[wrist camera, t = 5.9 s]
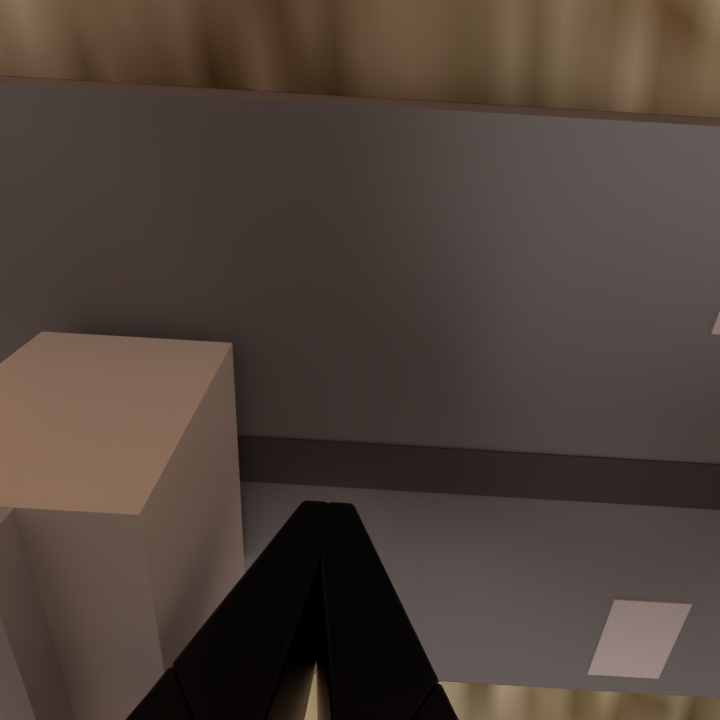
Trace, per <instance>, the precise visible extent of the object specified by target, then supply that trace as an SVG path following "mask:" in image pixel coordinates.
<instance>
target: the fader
mask: <svg viewBox="0 0 720 720" xmlns="http://www.w3.org/2000/svg"><path fill="white" fill-rule="evenodd" d="M244 573H245V568H244V550H243V531H242V513H241V495H240V476H239V458H238V440H237V421H236V403H235V384H234V366H233V348H232V343H227V342H210V341H194V340H177V339H160V338H143V337H126V336H110V335H93V334H76V333H59V332H41V333H39V334H38V335H37V336H35V337H34V338H33V339H32V340H30V341H29V342H28V343H26V344H25V345H24V346H22V347H21V348H20V349H19V350H17V351H16V352H15V353H13V354H12V355H11V356H9V357H8V358H7V359H5V360H4V361H3V362H2V363H0V720H125V719H126V718H127V717H128V716H129V715H130V713H131V712H132V711H133V710H134V709H135V708H136V706H137V705H138V704H139V703H140V702H141V701H142V699H143V698H144V697H145V696H146V695H147V693H148V692H149V691H150V690H151V689H152V687H153V686H154V685H155V684H156V682H157V681H158V680H159V679H160V677H161V676H162V675H163V674H164V672H165V671H166V670H167V669H168V668H169V667H172V663H173V662H174V660H175V659H176V658H177V657H178V655H179V654H180V653H181V652H182V650H183V649H184V648H185V647H186V645H187V644H188V643H189V642H190V640H191V639H192V638H193V637H194V635H195V634H196V633H197V632H198V631H199V629H200V628H201V627H202V626H203V624H204V623H205V622H206V621H207V619H208V618H209V617H210V616H211V614H212V613H213V612H214V611H215V609H216V608H217V607H218V606H219V604H220V603H221V602H222V601H223V599H224V598H225V597H226V596H227V594H228V593H229V592H230V591H231V590H232V588H233V587H234V586H235V585H236V583H237V582H238V581H239V580H240V578H241V577H242V576H243V575H244ZM172 668H173V667H172Z"/></svg>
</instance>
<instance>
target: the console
mask: <svg viewBox="0 0 720 720" xmlns="http://www.w3.org/2000/svg"><path fill="white" fill-rule="evenodd" d="M41 332H59V333H76V334H93V335H110V336H126V337H143V338H160V339H177V340H194V341H210V342H227V343H232V348H233V366H234V384H235V403H236V421H237V440H238V458H239V476H240V495H241V513H242V531H243V550H244V568H245V572H246V571H247V570H248V568H249V567H250V566H251V565H252V563H253V562H254V561H255V560H256V558H257V557H258V556H259V555H260V554H261V552H262V551H263V550H264V549H265V547H266V546H267V545H268V544H269V542H270V541H271V540H272V539H273V537H274V536H275V535H276V534H277V532H278V531H279V530H280V529H281V527H282V526H283V525H284V524H285V522H286V521H287V520H288V519H289V518H290V516H291V515H292V514H293V513H294V511H295V510H296V509H297V508H298V506H299V505H300V504H301V503H302V502H303V501H306V500H310V501H325V502H327V503H330V502H341V503H351V504H353V505H354V506H355V508H356V510H357V512H358V514H359V516H360V518H361V520H362V522H363V524H364V526H365V528H366V530H367V533H368V535H369V537H370V539H371V541H372V543H373V545H374V547H375V549H376V551H377V553H378V555H379V557H380V559H381V561H382V564H383V566H384V568H385V570H386V572H387V574H388V576H389V578H390V580H391V582H392V584H393V586H394V588H395V590H396V592H397V595H398V597H399V599H400V601H401V603H402V605H403V607H404V609H405V611H406V613H407V615H408V617H409V619H410V621H411V623H412V626H413V628H414V630H415V632H416V634H417V636H418V638H419V640H420V642H421V644H422V646H423V648H424V650H425V652H426V654H427V657H428V659H429V661H430V663H431V665H432V667H433V669H434V671H435V673H436V675H437V677H438V680H439V681H447V682H463V683H480V684H496V685H513V686H530V687H546V688H563V689H580V690H596V691H613V692H630V693H646V694H663V695H679V696H696V697H713V698H720V118H709V117H692V116H676V115H659V114H642V113H625V112H608V111H591V110H574V109H557V108H540V107H523V106H506V105H489V104H472V103H455V102H438V101H421V100H404V99H387V98H370V97H353V96H337V95H320V94H303V93H286V92H269V91H252V90H235V89H218V88H201V87H184V86H167V85H150V84H133V83H116V82H99V81H82V80H65V79H48V78H31V77H14V76H0V363H2V362H3V361H4V360H5V359H7V358H8V357H9V356H11V355H12V354H13V353H15V352H16V351H17V350H19V349H20V348H21V347H22V346H24V345H25V344H26V343H28V342H29V341H30V340H32V339H33V338H34V337H35V336H37V335H38V334H39V333H41ZM314 674H317V670H316V666H315V671H314Z"/></svg>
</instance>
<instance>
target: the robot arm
mask: <svg viewBox="0 0 720 720" xmlns="http://www.w3.org/2000/svg"><path fill="white" fill-rule="evenodd" d="M315 666H316V670H317V707H318V720H459V719H458V717H457V716H456V714H455V712H454V710H453V708H452V706H451V703H450V701H449V699H448V697H447V695H446V693H445V691H444V689H443V687H442V685H440V684H438V683H439V680H438V677H437V675H436V673H435V671H434V669H433V667H432V665H431V663H430V661H429V659H428V657H427V654H426V652H425V650H424V648H423V646H422V644H421V642H420V640H419V638H418V636H417V634H416V632H415V630H414V628H413V626H412V623H411V621H410V619H409V617H408V615H407V613H406V611H405V609H404V607H403V605H402V603H401V601H400V599H399V597H398V595H397V592H396V590H395V588H394V586H393V584H392V582H391V580H390V578H389V576H388V574H387V572H386V570H385V568H384V566H383V564H382V561H381V559H380V557H379V555H378V553H377V551H376V549H375V547H374V545H373V543H372V541H371V539H370V537H369V535H368V533H367V530H366V528H365V526H364V524H363V522H362V520H361V518H360V516H359V514H358V512H357V510H356V508H355V506H354V505H353V504H351V503H341V502H330V503H327V502H325V501H310V500H306V501H303V502H302V503H301V504H300V505H299V506H298V508H297V509H296V510H295V511H294V513H293V514H292V515H291V516H290V518H289V519H288V520H287V521H286V522H285V524H284V525H283V526H282V527H281V529H280V530H279V531H278V532H277V534H276V535H275V536H274V537H273V539H272V540H271V541H270V542H269V544H268V545H267V546H266V547H265V549H264V550H263V551H262V552H261V554H260V555H259V556H258V557H257V558H256V560H255V561H254V562H253V563H252V565H251V566H250V567H249V568H248V570H247V571H246V572H245V573H244V575H243V576H242V577H241V578H240V580H239V581H238V582H237V583H236V585H235V586H234V587H233V588H232V590H231V591H230V592H229V593H228V594H227V596H226V597H225V598H224V599H223V601H222V602H221V603H220V604H219V606H218V607H217V608H216V609H215V611H214V612H213V613H212V614H211V616H210V617H209V618H208V619H207V621H206V622H205V623H204V624H203V626H202V627H201V628H200V629H199V631H198V632H197V633H196V634H195V635H194V637H193V638H192V639H191V640H190V642H189V643H188V644H187V645H186V647H185V648H184V649H183V650H182V652H181V653H180V654H179V655H178V657H177V658H176V659H175V660H174V662H173V663H172V667H173V668H172V667H169V668H168V669H167V670H166V671H165V672H164V674H163V675H162V676H161V677H160V679H159V680H158V681H157V682H156V684H155V685H154V686H153V687H152V689H151V690H150V691H149V692H148V693H147V695H146V696H145V697H144V698H143V699H142V701H141V702H140V703H139V704H138V705H137V706H136V708H135V709H134V710H133V711H132V712H131V713H130V715H129V716H128V717H127V718H126V719H125V720H304V718H305V714H306V709H307V704H308V699H309V695H310V690H311V685H312V680H313V675H314V671H315Z"/></svg>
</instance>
